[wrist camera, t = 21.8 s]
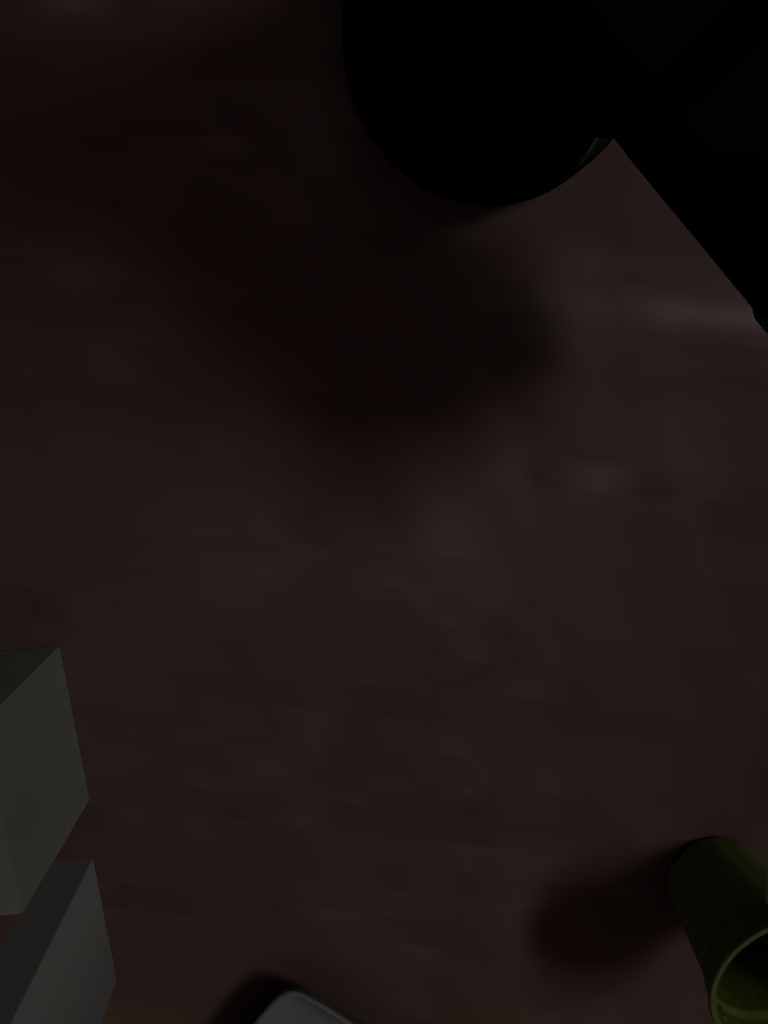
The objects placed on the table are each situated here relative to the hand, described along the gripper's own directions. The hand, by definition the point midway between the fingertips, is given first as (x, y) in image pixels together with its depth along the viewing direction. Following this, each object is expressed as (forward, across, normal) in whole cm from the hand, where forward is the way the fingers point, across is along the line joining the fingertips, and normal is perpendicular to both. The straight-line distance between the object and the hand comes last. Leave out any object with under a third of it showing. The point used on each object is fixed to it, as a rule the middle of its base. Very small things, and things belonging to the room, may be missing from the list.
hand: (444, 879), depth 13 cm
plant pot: (+27, +21, -26) cm, 43 cm away
